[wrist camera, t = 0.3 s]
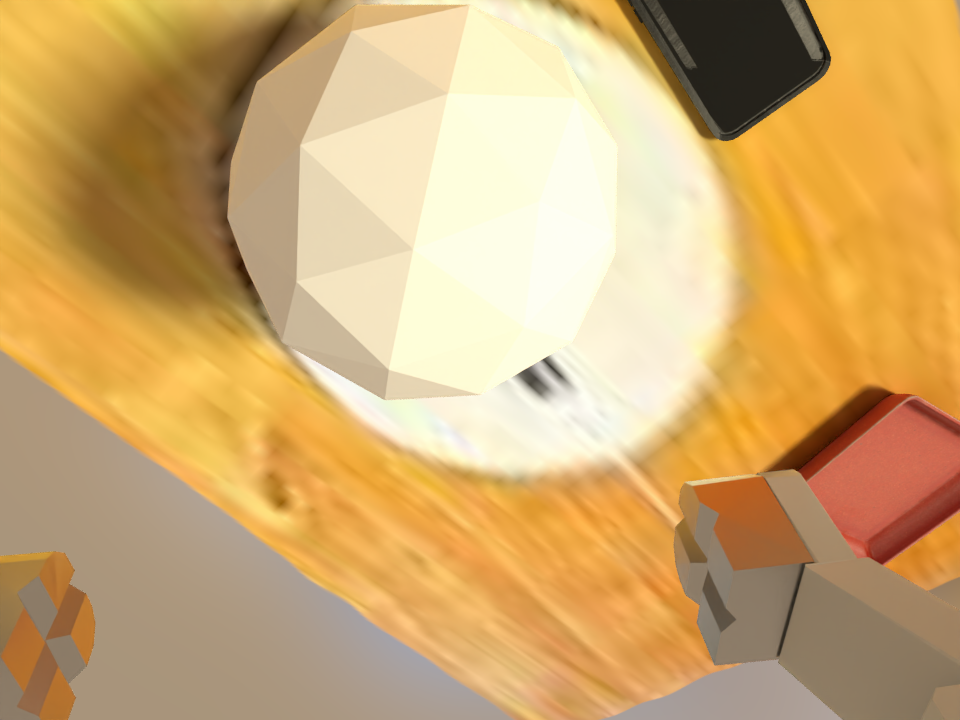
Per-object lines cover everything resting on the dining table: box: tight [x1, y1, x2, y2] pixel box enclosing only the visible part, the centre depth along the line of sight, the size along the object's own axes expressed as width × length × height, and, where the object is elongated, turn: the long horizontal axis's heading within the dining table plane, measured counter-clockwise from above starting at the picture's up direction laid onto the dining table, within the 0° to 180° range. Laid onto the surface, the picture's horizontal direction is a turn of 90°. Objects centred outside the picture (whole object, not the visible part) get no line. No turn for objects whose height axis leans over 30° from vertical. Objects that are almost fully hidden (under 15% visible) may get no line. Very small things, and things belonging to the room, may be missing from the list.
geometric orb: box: [227, 5, 617, 400], centre depth 40 cm, size 19×20×20 cm
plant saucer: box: [797, 394, 960, 566], centre depth 73 cm, size 18×18×3 cm
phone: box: [628, 0, 831, 141], centre depth 44 cm, size 8×1×15 cm
